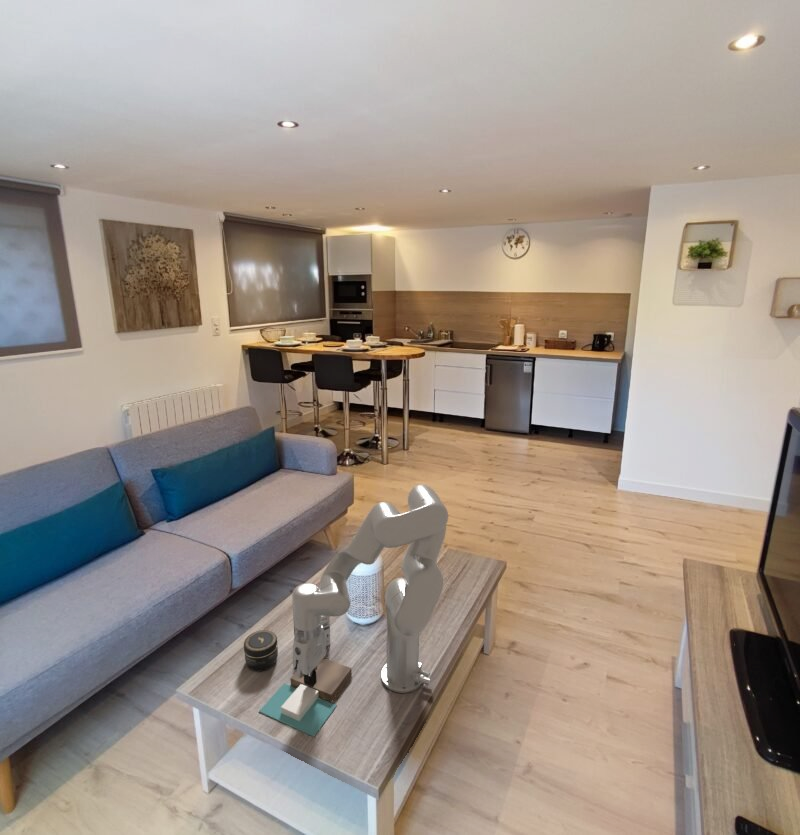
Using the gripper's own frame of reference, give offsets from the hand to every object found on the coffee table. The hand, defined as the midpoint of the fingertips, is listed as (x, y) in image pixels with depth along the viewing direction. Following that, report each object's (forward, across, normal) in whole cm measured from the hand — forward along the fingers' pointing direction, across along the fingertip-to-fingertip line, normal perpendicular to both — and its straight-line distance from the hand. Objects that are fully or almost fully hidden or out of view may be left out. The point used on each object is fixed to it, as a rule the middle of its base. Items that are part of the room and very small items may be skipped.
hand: (310, 683), depth 139 cm
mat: (+3, -6, 0) cm, 7 cm away
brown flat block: (+3, +5, 0) cm, 6 cm away
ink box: (+4, +17, +10) cm, 20 cm away
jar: (+4, +4, +21) cm, 22 cm away
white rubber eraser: (+3, -5, 0) cm, 6 cm away
